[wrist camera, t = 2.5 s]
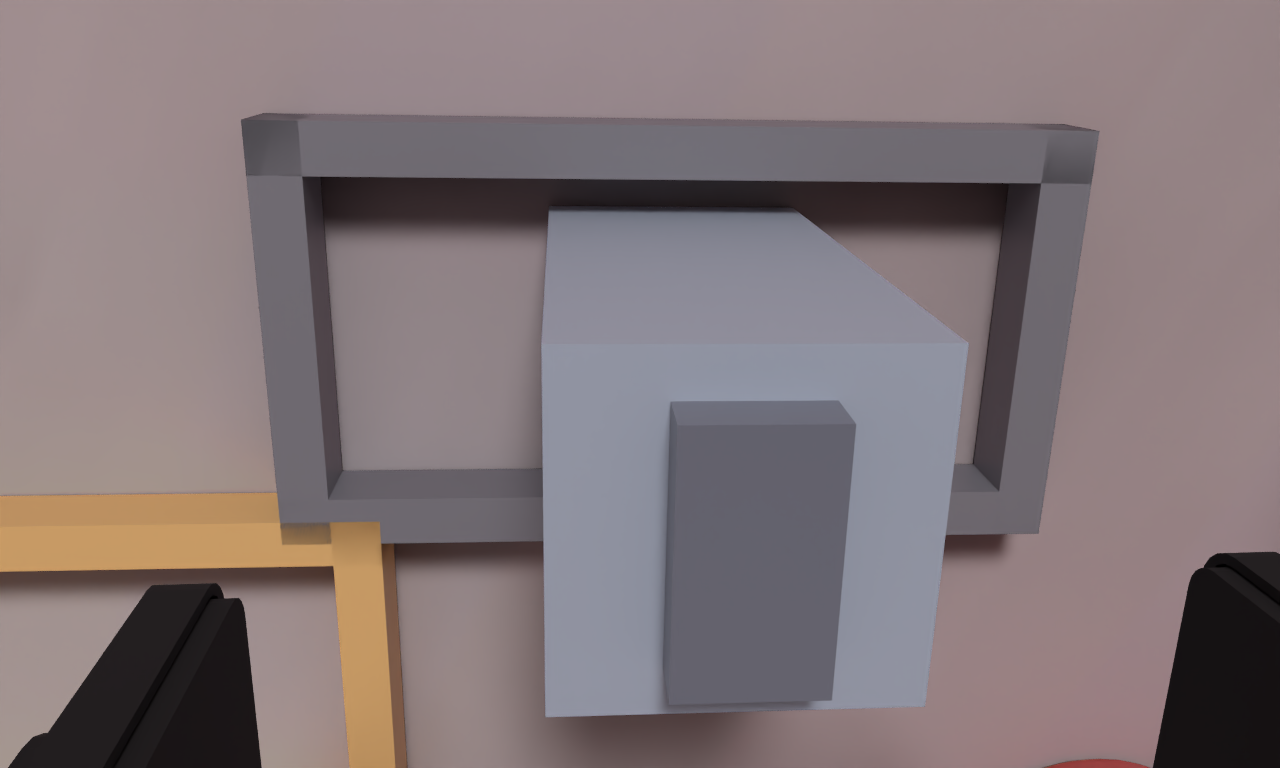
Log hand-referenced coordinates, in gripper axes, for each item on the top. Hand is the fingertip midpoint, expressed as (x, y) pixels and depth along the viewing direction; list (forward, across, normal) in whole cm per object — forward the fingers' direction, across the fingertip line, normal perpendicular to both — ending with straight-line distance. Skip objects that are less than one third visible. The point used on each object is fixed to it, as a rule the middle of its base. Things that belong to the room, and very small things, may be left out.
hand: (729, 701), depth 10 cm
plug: (+13, -1, 0) cm, 13 cm away
